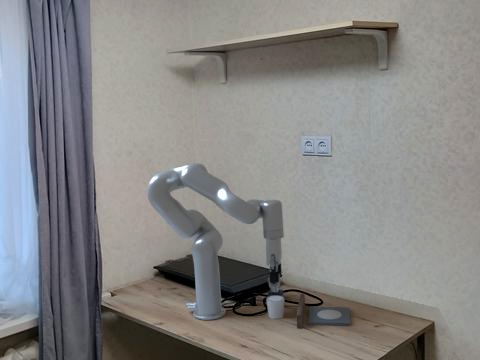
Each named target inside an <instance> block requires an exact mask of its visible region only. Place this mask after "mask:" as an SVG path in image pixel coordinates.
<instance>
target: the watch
mask: <svg viewBox="0 0 480 360" xmlns="http://www.w3.org/2000/svg"><path fill="white" fill-rule="evenodd" d="M280 275H281V274H279V282H270V276H269V277H268V278H267V283H268V286H269V288H270V289H269V290H268V292H267V297H269V296H273V295H278V296H283V297H284V298H285V295H284V293H285V292H284V289H280V286H281V282H282V280H281V276H280Z"/></svg>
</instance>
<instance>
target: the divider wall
mask: <svg viewBox="0 0 480 360" xmlns="http://www.w3.org/2000/svg"><path fill="white" fill-rule="evenodd" d="M305 307H306V293H305V292H304V293H303V292H301V293H300V294H299V300H298V305H297V310H296V311H297V312H296V328H297V329H303V323H304V321H303V320H304V314H305Z"/></svg>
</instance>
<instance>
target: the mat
mask: <svg viewBox="0 0 480 360" xmlns="http://www.w3.org/2000/svg"><path fill="white" fill-rule="evenodd" d="M307 325H308V326H336V327H338V326H339V327H340V326H342V327H344V326H345V327H351V311H350V307H349V306H347V307H343V306H341V307H338V306H337V307H335V306H309V312H308V322H307Z"/></svg>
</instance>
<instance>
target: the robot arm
mask: <svg viewBox="0 0 480 360" xmlns="http://www.w3.org/2000/svg"><path fill="white" fill-rule="evenodd" d="M185 188H188V189H190V190H192V191H194V192H196V193H198V194H199V195H201V196H202V197H204V198H206V199H208V200H210V201H212V203H214V204H215V205H216V206H217V207H218V208H219V209H221V210H222V211H223V212H224V213H226V214H227V215H228V216H230V217H232V218H233V219H236V220H238V222H241V223H243V224H247V225H252V224H254V223H256V222H257V221H258V220H259V219H262V231H263V233H262V234H263V238H264V239H265V256H266V257H265V259H266V260H265V263H266V265H267V266H269V277H270V282H279V275H281V274H282V263H281V262H282V239H283V238H284V237H285V234H284V232H285V231H284V218H283V216H284V215H283V214H284V213H283V203H282V201H280V200H278V199H267V200H265V199H262V200H261V199H248V200H246V201H245V200H243V199H242V198H240V197H239V196H237V195H236V194H234V192H232V190H230V187H229V186H228V185H227V183H226V182H225V181H223V180H221V179H220V178H218V177H217V176H214V175H213V174H211V173H210V172H208V169H207V168H206V166H205V165H204V164H202V163H199V162H195V163H190V164H187V165H183V166H179V167H174V168H171V169H170V168H169V169H166V170H164V171H161V172H158V173H156V174H155V175H154V176H152V178H151V179H149V181H148V185H147V191H146V193H147V199H148V201H149V204H150V205H151V206H152V207H153V209H154V210H155V211H156V212H157V213H158V214H159V215H160V216H161V217H162V218H163V219H164V221H165V222H166V223H167V224H168V225H169V226H170V227H171V228H172V229H173V230H174V231H175V232H176V234H177V235H178V236H179V237H181V238H183V239H190V238H193V239H194V241H193V243H192V247H191V254H192V261H193V268H194V279H195V280H194V281H195V282H194V283H195V284H194V285H195V298H196V299H195V300H196V301H194V302H186V308H187V310H193V311H192V315H193V317H194V318H196V319H197V320H203V321H211V320H217V319H221V318H222V317H224V316H225V315H226V314H227V313H226V311H227V310H226V309H225V308H226V307H225V308H224V307H223V306H222V295H221V276H220V263H219V257H218V253H219V250H220V249H221V248H222V246H223V243H224V242H223V237H222V234H221V233H220V231H219V230H218V229H217V228H216V227H215V226H214V225H213V224H212V223H211V221H210V220H209V219H208V218H207V217H206V216H205V215H204V214H203V213H201V212H200V211H199V210H198V209H197V210H196V209H186V208H185V207H184V206H183V205H182V204H181V202H179V201H178V200H177V199H176V198H175V197H173V196H172V194H171V192H172V193H173V191H177V190H180V189H185Z"/></svg>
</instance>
